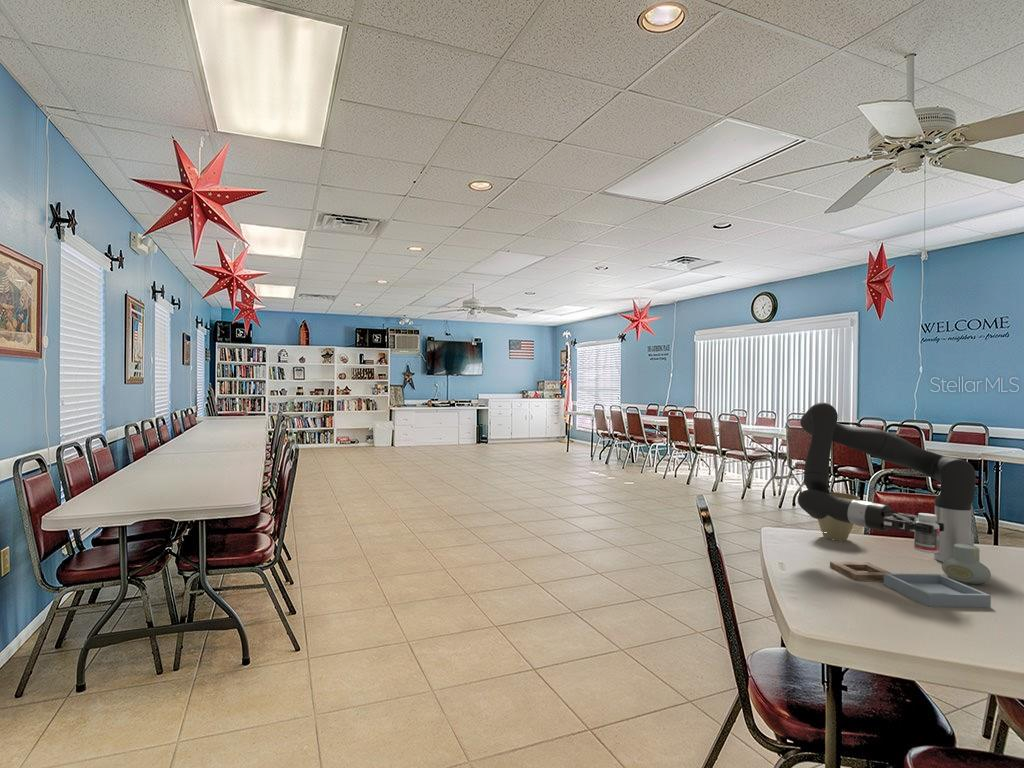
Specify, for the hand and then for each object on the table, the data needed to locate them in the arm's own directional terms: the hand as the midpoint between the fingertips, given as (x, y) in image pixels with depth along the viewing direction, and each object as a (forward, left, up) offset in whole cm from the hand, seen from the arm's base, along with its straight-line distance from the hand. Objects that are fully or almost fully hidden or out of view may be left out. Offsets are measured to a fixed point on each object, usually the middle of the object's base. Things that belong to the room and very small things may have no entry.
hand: (938, 528), depth 147 cm
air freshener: (-19, -13, -18) cm, 29 cm away
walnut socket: (+8, -18, -18) cm, 26 cm away
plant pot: (-9, -58, -18) cm, 61 cm away
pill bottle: (+1, -2, -7) cm, 7 cm away
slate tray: (0, -1, -18) cm, 18 cm away
